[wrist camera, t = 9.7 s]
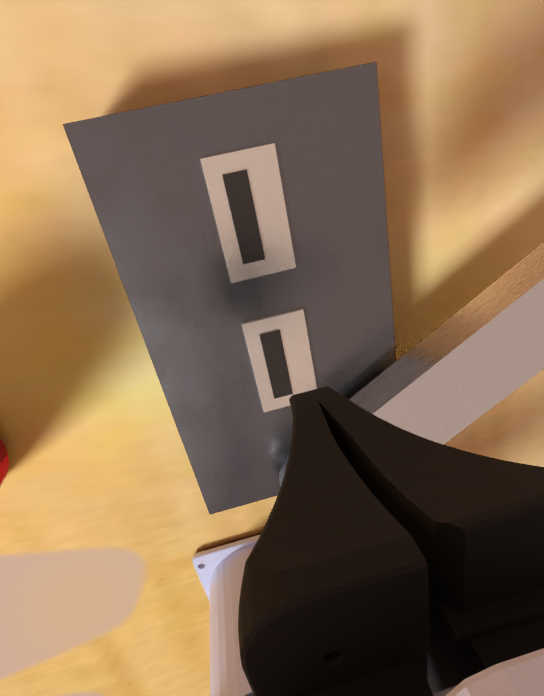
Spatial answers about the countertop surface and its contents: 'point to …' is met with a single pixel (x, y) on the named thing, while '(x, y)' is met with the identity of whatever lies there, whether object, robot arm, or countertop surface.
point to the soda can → (3, 461)
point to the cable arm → (466, 359)
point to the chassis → (249, 258)
